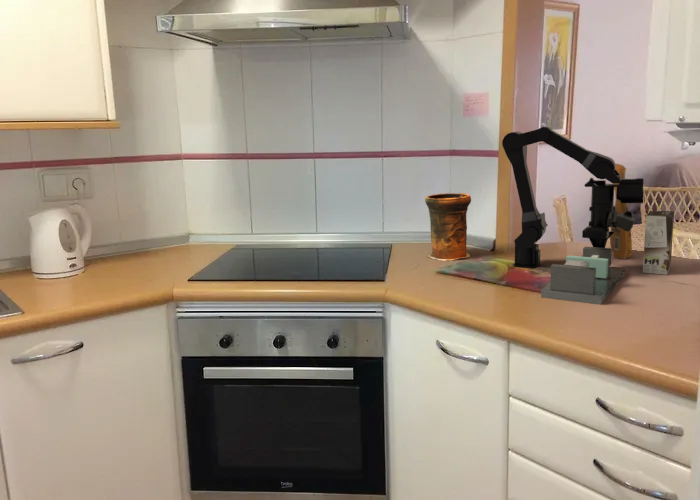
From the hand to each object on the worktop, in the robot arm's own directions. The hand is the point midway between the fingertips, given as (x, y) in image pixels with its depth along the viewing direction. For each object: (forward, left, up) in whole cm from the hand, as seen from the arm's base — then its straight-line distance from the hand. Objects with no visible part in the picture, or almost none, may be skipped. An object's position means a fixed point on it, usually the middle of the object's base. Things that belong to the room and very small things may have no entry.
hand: (599, 257), depth 171 cm
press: (0, -18, -4) cm, 18 cm away
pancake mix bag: (+1, +22, -4) cm, 23 cm away
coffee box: (+14, +5, -4) cm, 15 cm away
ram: (0, -10, -1) cm, 10 cm away
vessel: (-46, -1, -4) cm, 46 cm away
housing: (0, -27, -2) cm, 27 cm away
